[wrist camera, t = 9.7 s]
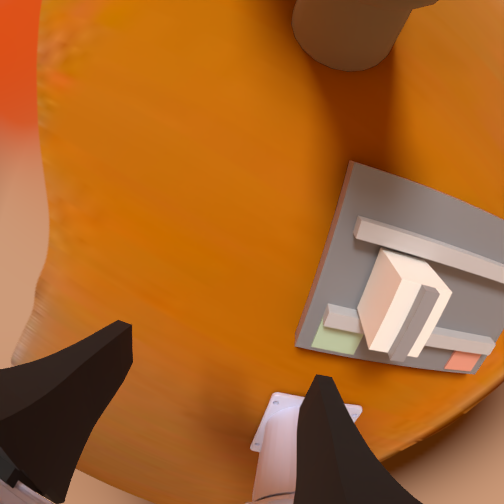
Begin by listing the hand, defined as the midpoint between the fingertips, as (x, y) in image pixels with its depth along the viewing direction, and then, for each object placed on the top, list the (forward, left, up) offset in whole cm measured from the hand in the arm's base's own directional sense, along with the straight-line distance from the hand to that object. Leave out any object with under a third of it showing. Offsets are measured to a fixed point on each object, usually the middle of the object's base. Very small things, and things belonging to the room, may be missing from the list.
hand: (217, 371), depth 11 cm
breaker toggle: (+2, -8, -8) cm, 11 cm away
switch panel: (+2, -12, -9) cm, 15 cm away
